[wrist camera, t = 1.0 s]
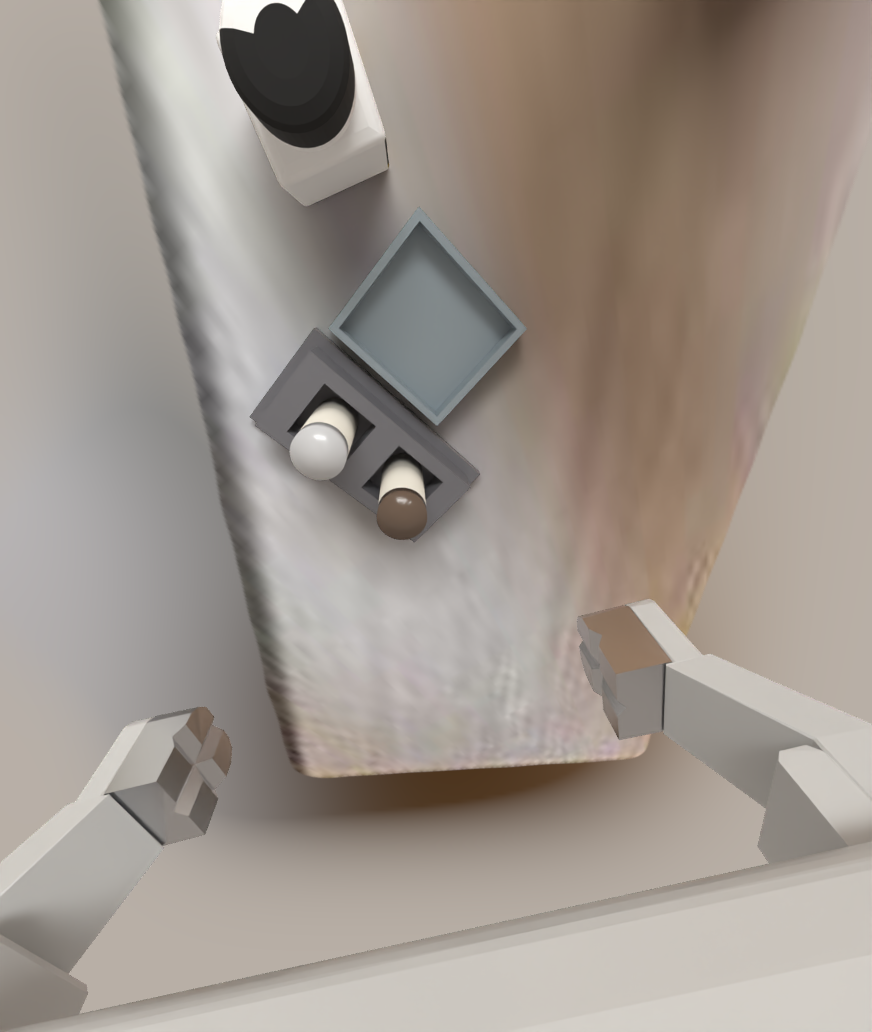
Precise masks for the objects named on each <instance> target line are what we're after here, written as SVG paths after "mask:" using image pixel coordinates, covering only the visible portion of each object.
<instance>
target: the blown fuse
mask: <svg viewBox="0 0 872 1032" xmlns="http://www.w3.org/2000/svg"><path fill="white" fill-rule="evenodd" d="M377 523H378V526H379V527H380V529H381V530H382V532H383V533H385V534H386V535H387V536H389V537H391V538H394V539H398V540H406V539H410V538H413V537H415V536H417V535H418V534H420V533H421V532H422V531H423V529H424V528H425V526H426V523H427V509H426V500H425V490H424V480H423V471H422V466H421V464H420V463H419V462H418V461H417V460H416V459H415V458H413V457H412V456H411V455H408V454H396V455H393V456H392V457H390V458H389V459H388V460H387V461H386V462H385V464H384V466H383V470H382V478H381V486H380V494H379V503H378V511H377Z"/></svg>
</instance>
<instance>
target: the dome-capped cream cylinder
mask: <svg viewBox="0 0 872 1032" xmlns="http://www.w3.org/2000/svg"><path fill="white" fill-rule="evenodd" d="M358 422H359V420H358V415H357V412H356V410H355V409H354V408H353V407H352V406H351V405H350V404H348V403H347V402H346V401H345V400H343V399H340V398H329V399H326V400H324V401H323V402H321V403H320V404H319V405H318V407H317V408H316V409H315V411H314V412H313V413H312V415H311V416H310V417H309V419H308V420H307V421H306V423H305V424H304V425H303V427H302V428H301V429H300V431H299V432H298V433H297V435H296V436H295V437H294V439H293V440H292V442H291V445H290V458H291V461H292V463H293V465H294V466H295V468H296V469H297V470H298V471H299V472H300V473H301V474H302V475H304V476H306V477H308V478H310V479H313V480H328V479H331V478H333V477H335V476H337V475H338V474H339V473H340V472H341V471H342V469H343V468H344V466H345V463H346V460H347V457H348V454H349V451H350V448H351V445H352V442H353V439H354V436H355V433H356V431H357V428H358Z"/></svg>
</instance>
